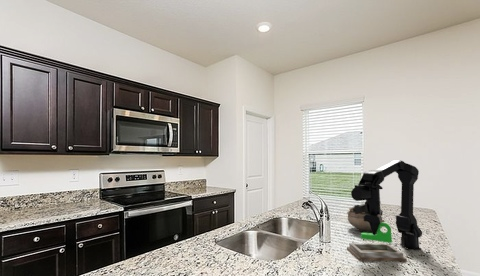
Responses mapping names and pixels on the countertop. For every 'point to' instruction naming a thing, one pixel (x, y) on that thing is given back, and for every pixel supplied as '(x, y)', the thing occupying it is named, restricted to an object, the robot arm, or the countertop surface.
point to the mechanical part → (379, 234)
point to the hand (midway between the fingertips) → (374, 234)
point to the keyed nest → (375, 252)
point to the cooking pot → (359, 220)
